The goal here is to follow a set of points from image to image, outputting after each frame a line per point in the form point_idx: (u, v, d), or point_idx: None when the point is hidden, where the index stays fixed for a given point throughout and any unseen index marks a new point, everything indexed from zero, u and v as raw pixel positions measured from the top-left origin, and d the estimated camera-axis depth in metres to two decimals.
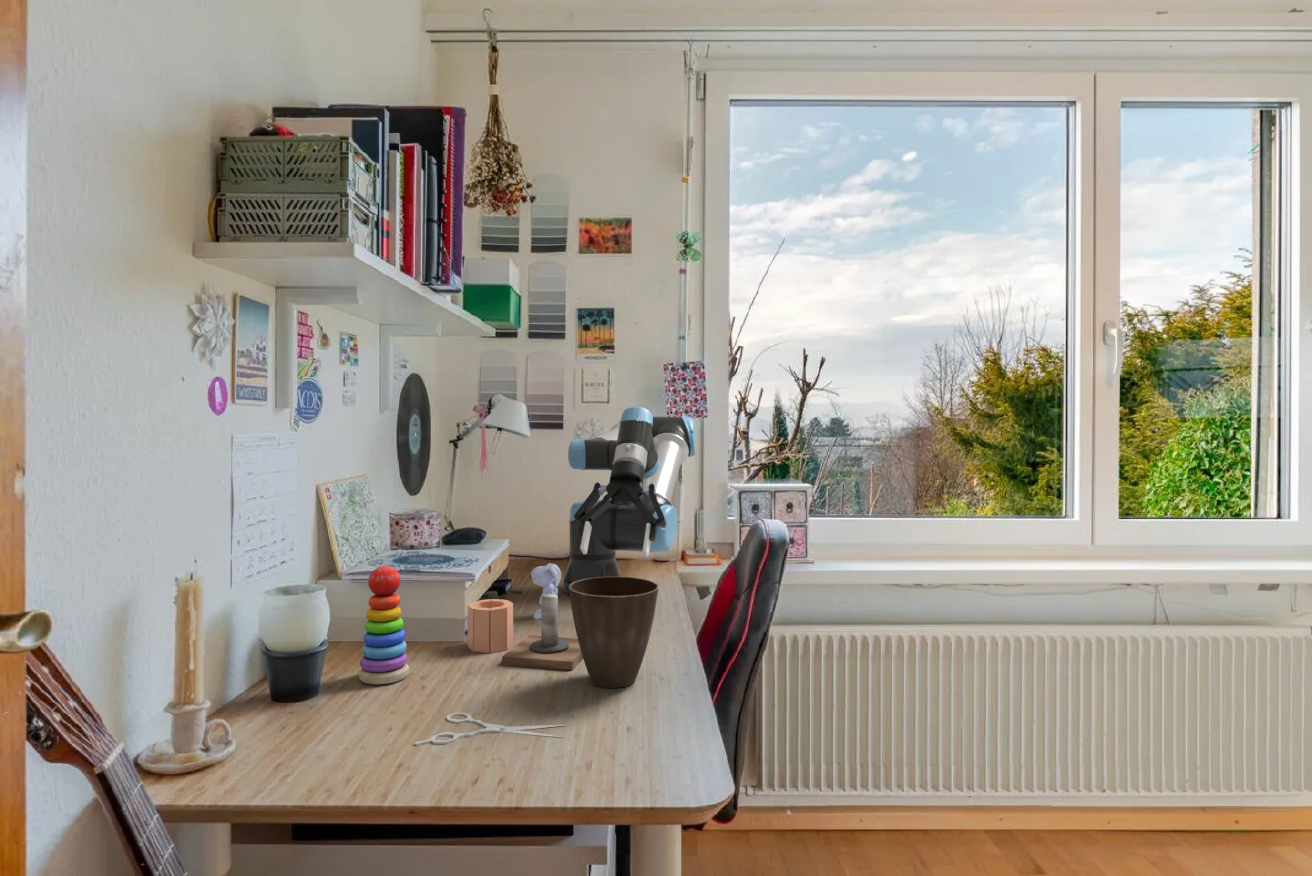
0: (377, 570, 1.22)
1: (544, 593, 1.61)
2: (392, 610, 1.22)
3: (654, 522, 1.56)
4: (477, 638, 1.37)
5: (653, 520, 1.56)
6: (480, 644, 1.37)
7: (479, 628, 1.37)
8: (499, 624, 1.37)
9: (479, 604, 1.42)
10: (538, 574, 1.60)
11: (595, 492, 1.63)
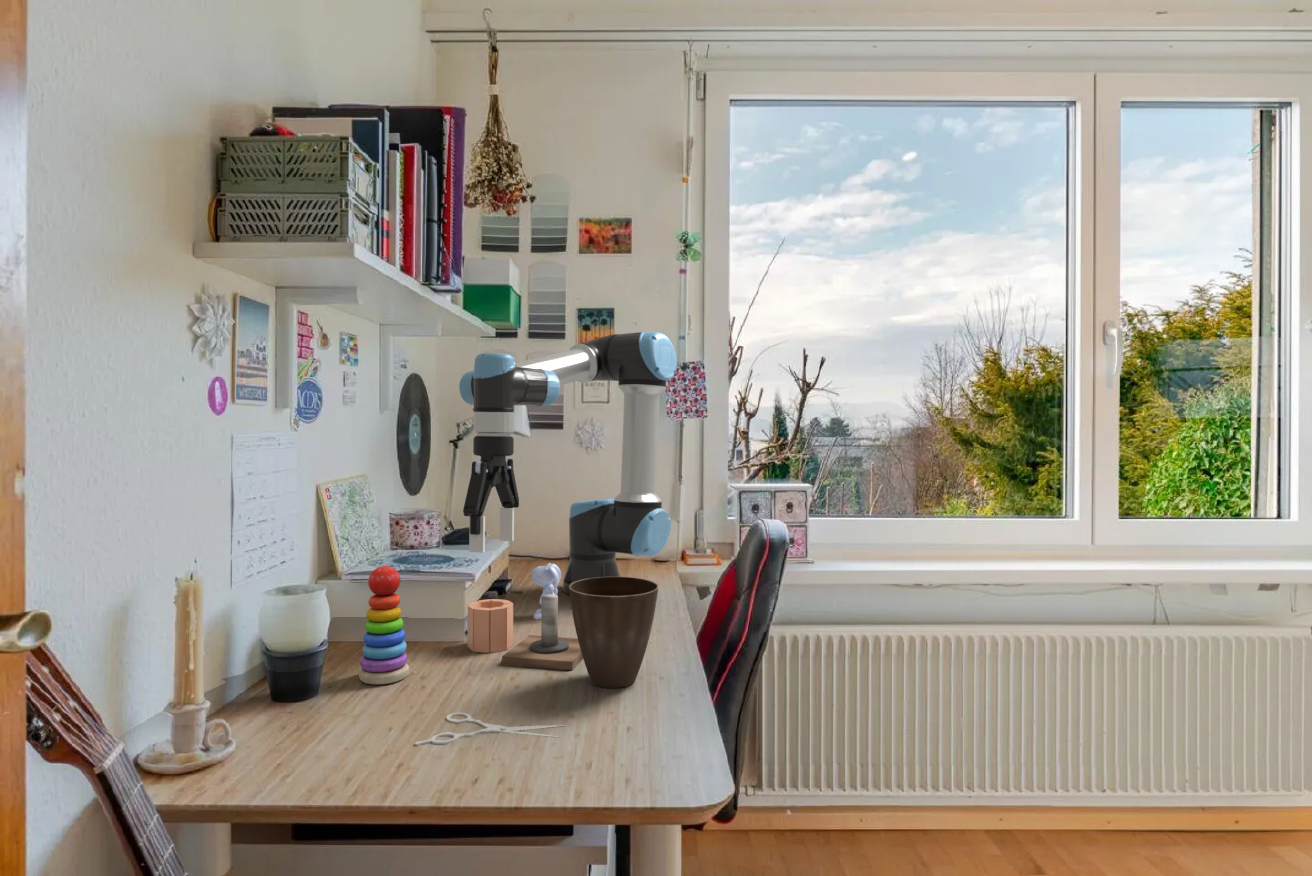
0: (377, 570, 1.22)
1: (544, 593, 1.61)
2: (392, 610, 1.22)
3: (467, 515, 1.32)
4: (477, 638, 1.37)
5: None
6: (480, 644, 1.37)
7: (479, 628, 1.37)
8: (499, 624, 1.37)
9: (479, 604, 1.42)
10: (538, 574, 1.60)
11: None
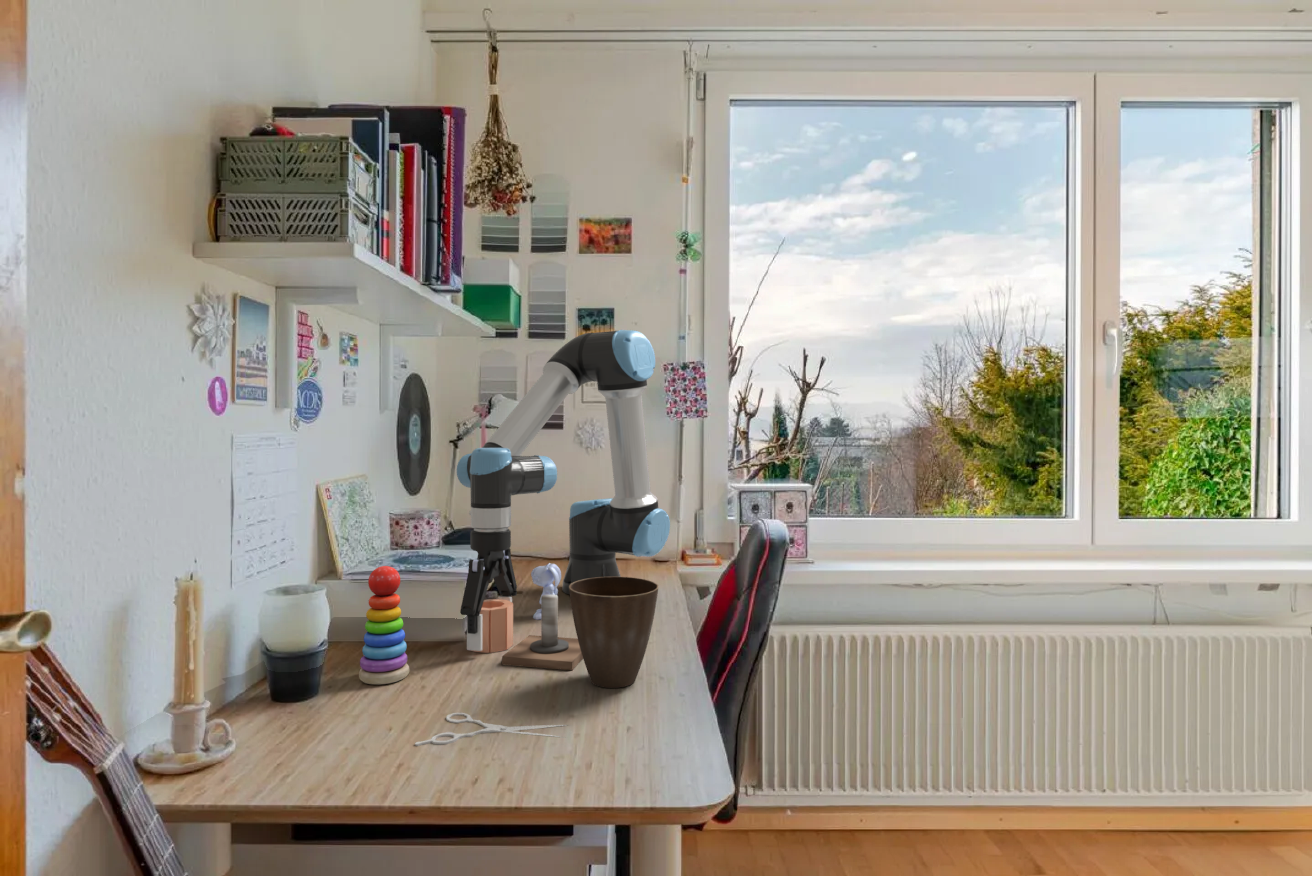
0: (377, 570, 1.22)
1: (544, 593, 1.61)
2: (392, 610, 1.22)
3: (464, 614, 1.33)
4: None
5: None
6: None
7: None
8: (499, 624, 1.37)
9: None
10: (538, 574, 1.60)
11: None
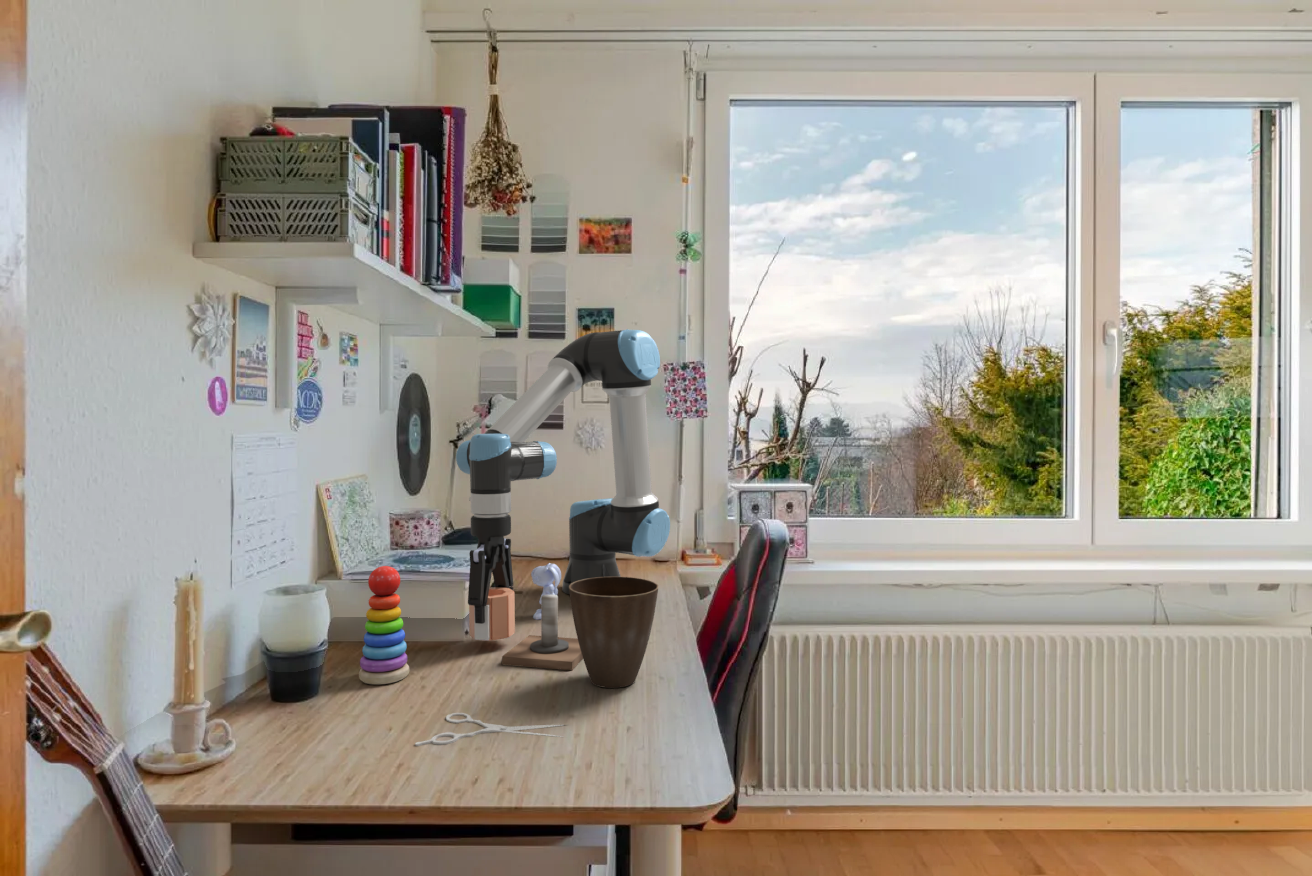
0: (377, 570, 1.22)
1: (544, 593, 1.61)
2: (392, 610, 1.22)
3: None
4: None
5: None
6: None
7: None
8: (501, 612, 1.38)
9: None
10: (538, 574, 1.60)
11: None
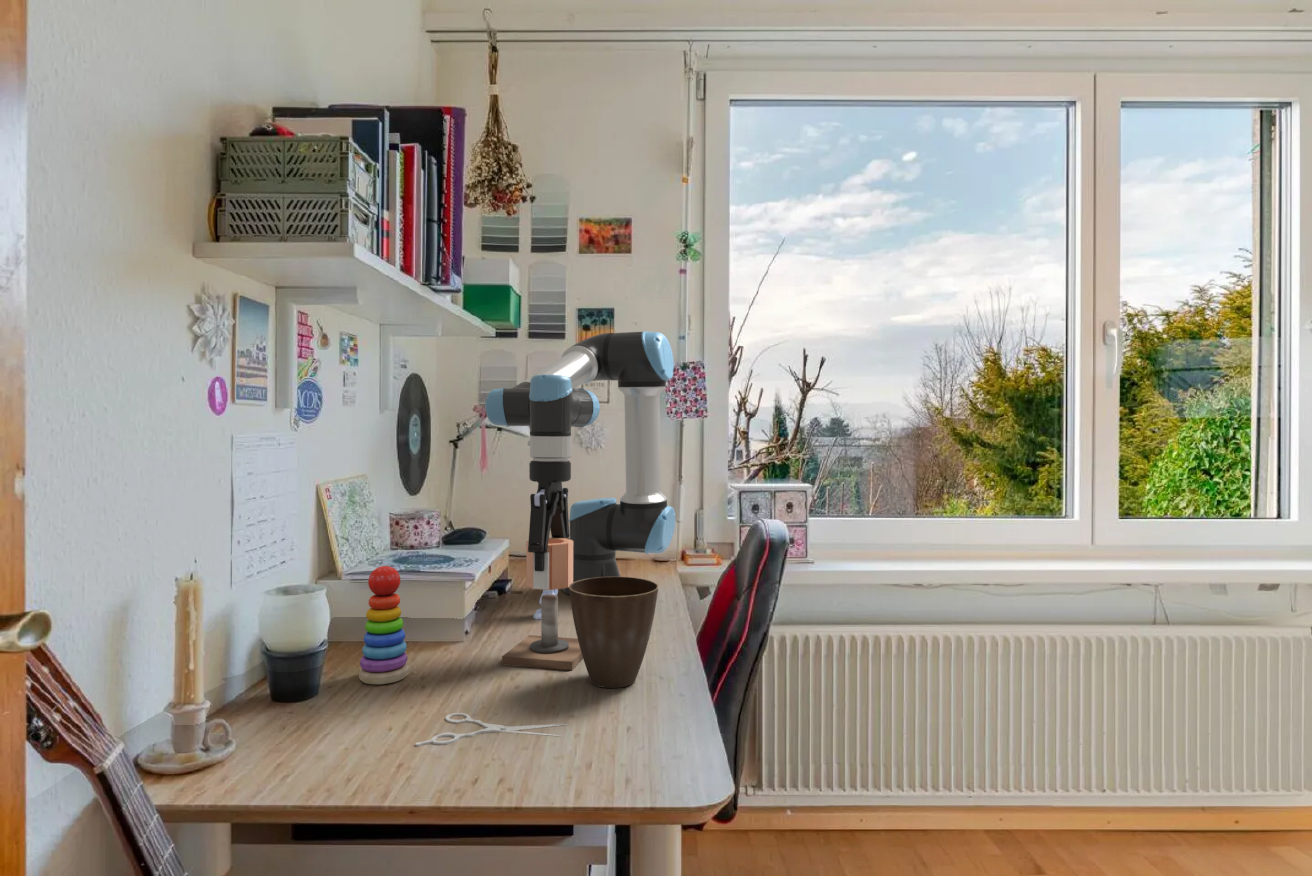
0: (377, 570, 1.22)
1: (544, 593, 1.61)
2: (392, 610, 1.22)
3: None
4: None
5: None
6: None
7: None
8: (560, 560, 1.31)
9: None
10: None
11: None
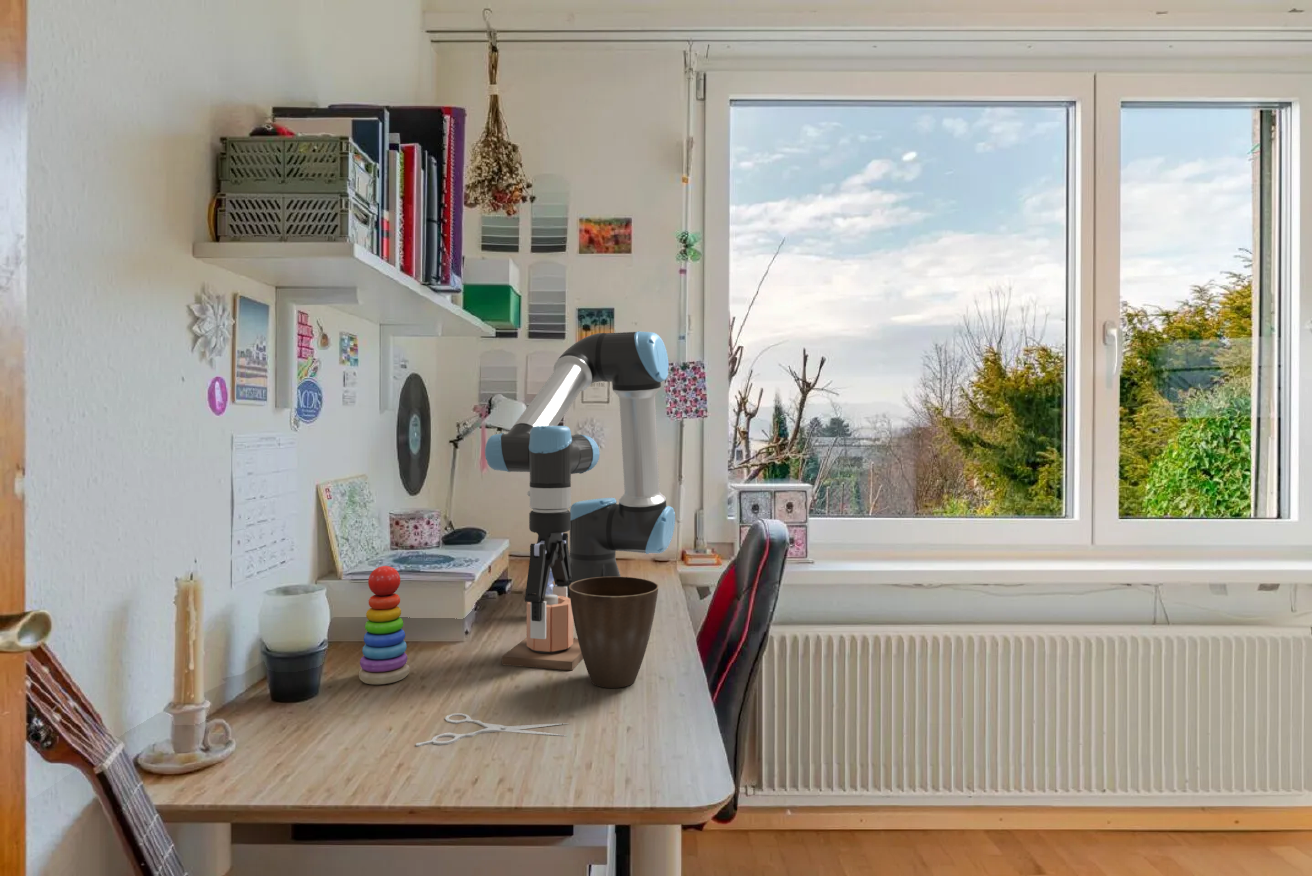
0: (377, 570, 1.22)
1: None
2: (392, 610, 1.22)
3: (528, 601, 1.28)
4: None
5: None
6: (541, 642, 1.31)
7: None
8: (560, 622, 1.32)
9: None
10: None
11: None
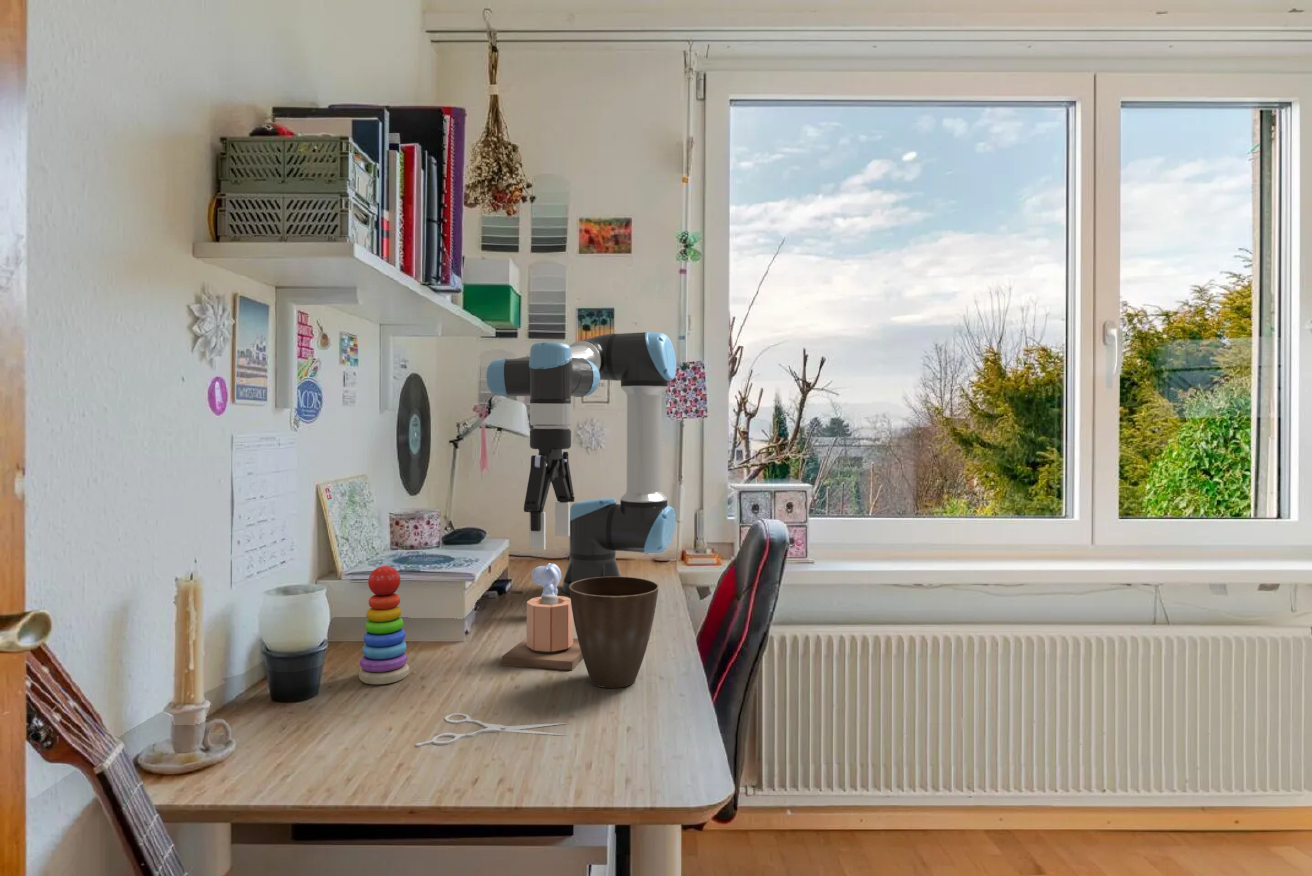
0: (377, 570, 1.22)
1: (544, 593, 1.61)
2: (392, 610, 1.22)
3: (527, 511, 1.28)
4: (538, 636, 1.31)
5: None
6: (541, 642, 1.31)
7: (540, 626, 1.31)
8: (560, 622, 1.32)
9: (538, 601, 1.36)
10: (538, 574, 1.60)
11: None
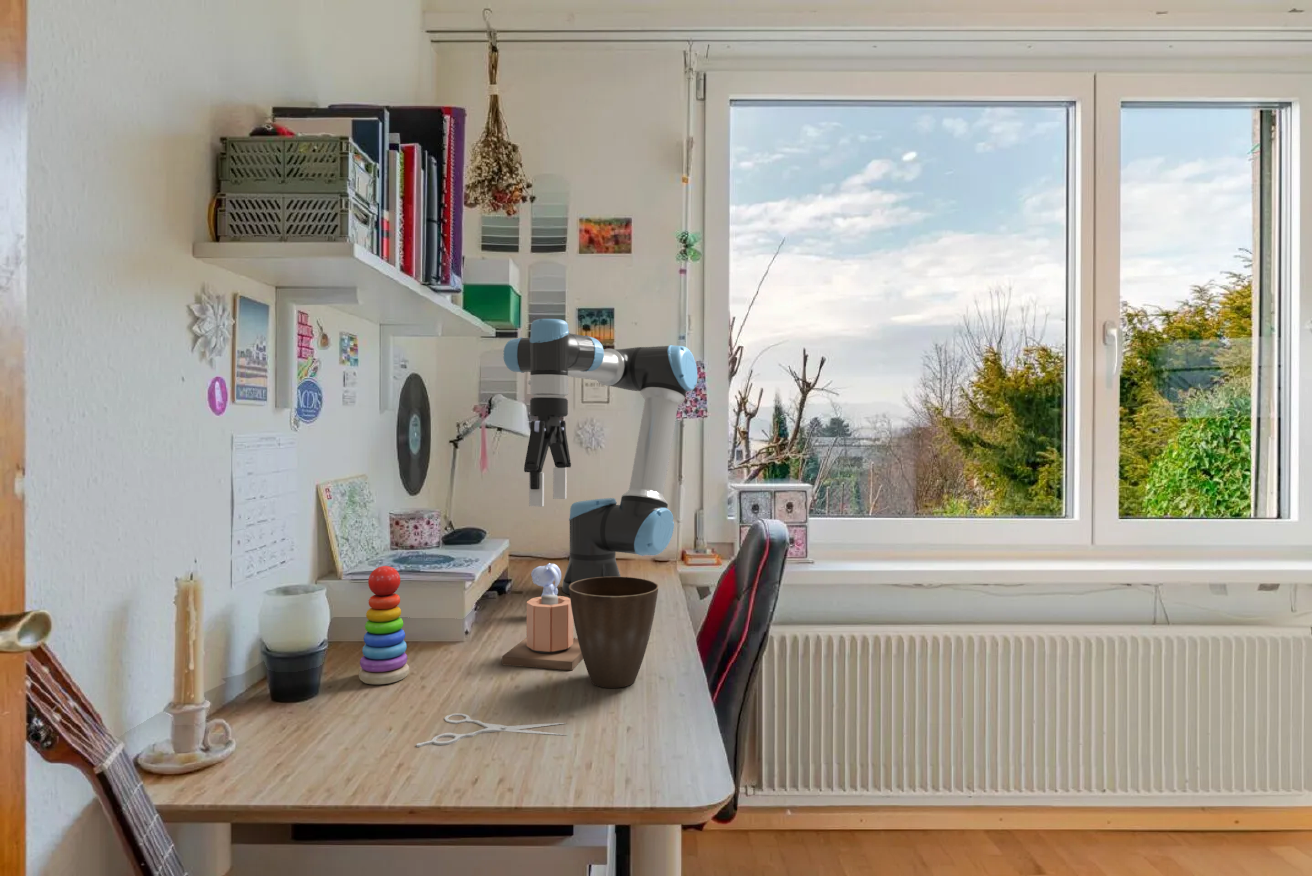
0: (377, 570, 1.22)
1: (544, 593, 1.61)
2: (392, 610, 1.22)
3: (527, 471, 1.40)
4: (538, 636, 1.31)
5: None
6: (541, 642, 1.31)
7: (540, 626, 1.31)
8: (560, 622, 1.32)
9: (538, 601, 1.36)
10: (538, 574, 1.60)
11: None
